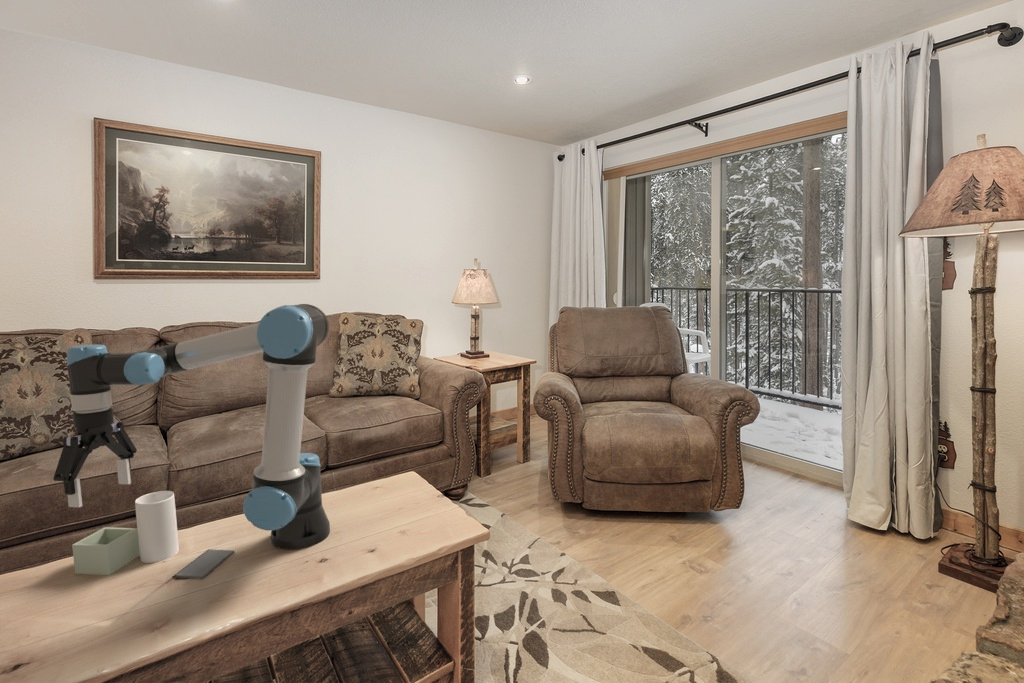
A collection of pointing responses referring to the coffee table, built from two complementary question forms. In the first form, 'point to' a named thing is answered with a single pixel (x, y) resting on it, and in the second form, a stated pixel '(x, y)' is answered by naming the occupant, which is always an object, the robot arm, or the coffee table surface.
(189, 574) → the coaster
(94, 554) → the planter
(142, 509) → the cup
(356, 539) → the coffee table surface
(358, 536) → the coffee table surface
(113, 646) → the coffee table surface
